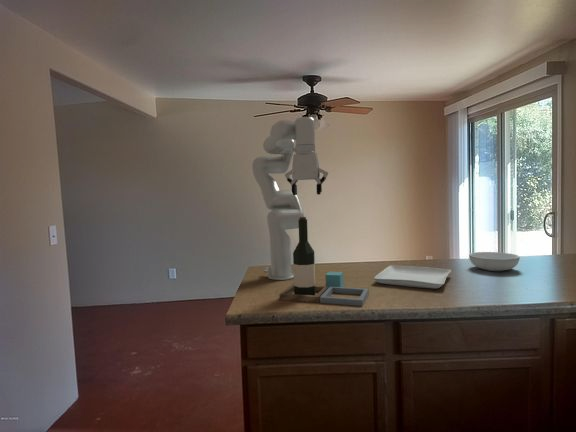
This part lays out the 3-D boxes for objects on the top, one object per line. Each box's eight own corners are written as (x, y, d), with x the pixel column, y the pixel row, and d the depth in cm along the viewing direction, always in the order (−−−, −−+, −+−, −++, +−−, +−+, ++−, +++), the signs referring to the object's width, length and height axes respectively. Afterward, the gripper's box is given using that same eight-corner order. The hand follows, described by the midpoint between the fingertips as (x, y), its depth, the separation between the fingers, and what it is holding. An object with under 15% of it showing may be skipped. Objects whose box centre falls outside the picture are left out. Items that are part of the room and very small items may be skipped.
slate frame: (320, 302, 132) (320, 297, 132) (330, 291, 146) (330, 286, 146) (362, 306, 127) (362, 300, 127) (368, 294, 141) (368, 288, 141)
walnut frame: (279, 299, 137) (279, 294, 137) (293, 289, 151) (292, 284, 151) (318, 302, 132) (318, 297, 132) (328, 291, 146) (328, 286, 146)
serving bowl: (519, 267, 178) (519, 252, 177) (519, 276, 160) (519, 260, 160) (471, 263, 189) (471, 250, 189) (466, 271, 172) (466, 257, 171)
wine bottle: (309, 299, 136) (307, 218, 134) (290, 296, 140) (287, 217, 138) (319, 293, 143) (317, 216, 141) (301, 291, 147) (298, 216, 145)
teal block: (325, 289, 150) (325, 274, 149) (329, 285, 155) (329, 271, 155) (340, 290, 147) (340, 275, 147) (343, 286, 153) (343, 272, 153)
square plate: (389, 272, 177) (389, 264, 177) (451, 277, 164) (451, 268, 163) (372, 285, 154) (372, 276, 154) (443, 293, 140) (443, 282, 140)
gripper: (281, 151, 142) (282, 195, 144) (324, 147, 136) (326, 194, 138) (287, 152, 149) (289, 195, 151) (329, 149, 143) (330, 194, 145)
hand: (306, 194), depth 144 cm, fingers open, 9 cm apart
